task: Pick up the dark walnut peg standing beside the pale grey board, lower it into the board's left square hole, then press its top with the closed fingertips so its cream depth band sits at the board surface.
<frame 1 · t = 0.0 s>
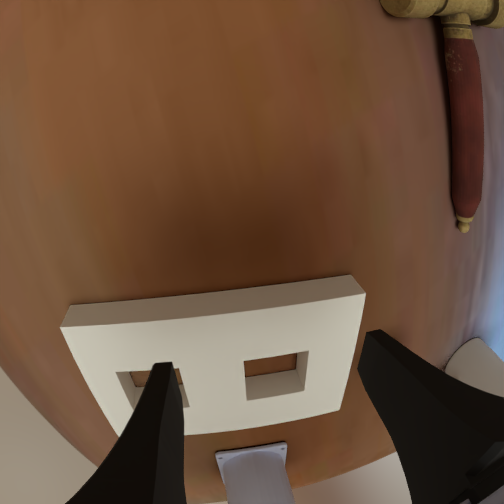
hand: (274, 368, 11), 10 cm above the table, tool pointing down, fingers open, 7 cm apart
board: (218, 361, 24), on the table
mug: (453, 361, 32), on the table
gavel: (448, 100, 18), on the table
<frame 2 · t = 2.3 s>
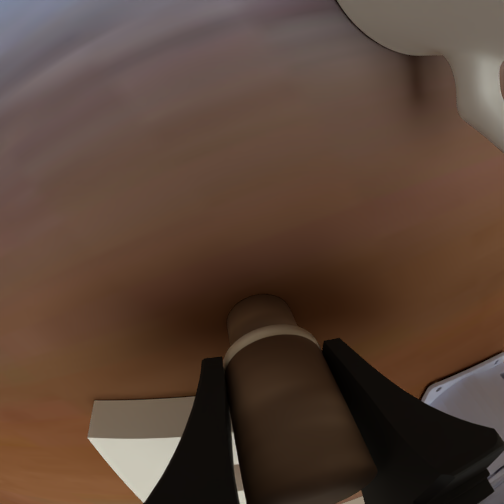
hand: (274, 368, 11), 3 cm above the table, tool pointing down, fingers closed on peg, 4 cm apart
peg: (259, 321, 14), on the table, touching gripper
board: (229, 471, 20), on the table
mug: (401, 22, 9), on the table
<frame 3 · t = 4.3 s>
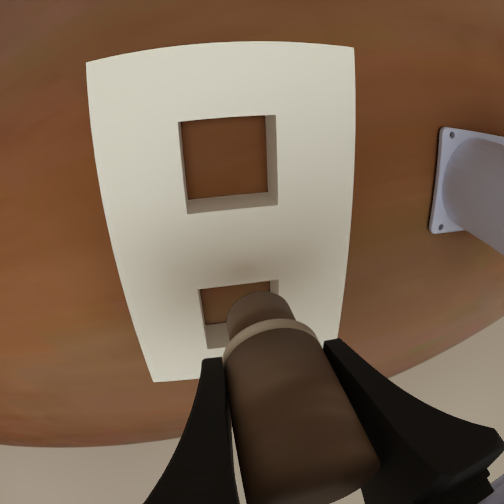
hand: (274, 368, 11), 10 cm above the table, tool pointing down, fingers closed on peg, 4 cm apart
peg: (259, 319, 14), point 7 cm above the table, touching gripper
board: (230, 223, 19), on the table
when the fingers open (4 cm above the table, at t = 6.2 s): peg stays where it is, resting in board.
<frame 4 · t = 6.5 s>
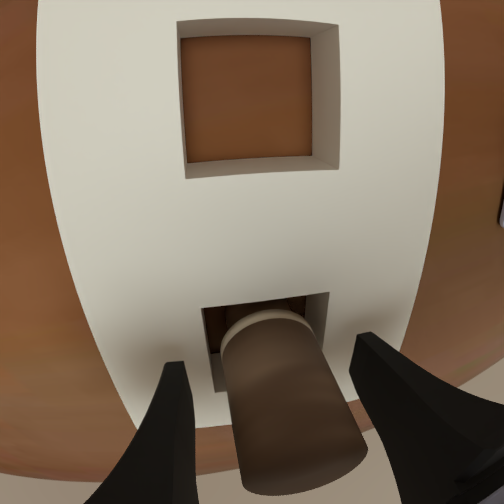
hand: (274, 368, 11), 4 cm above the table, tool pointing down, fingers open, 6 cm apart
peg: (256, 309, 14), resting in board
board: (252, 202, 12), on the table
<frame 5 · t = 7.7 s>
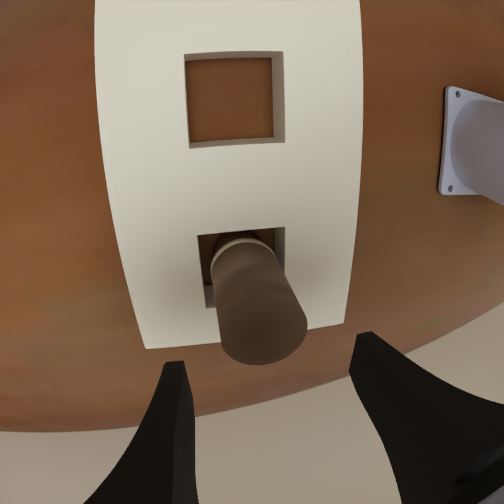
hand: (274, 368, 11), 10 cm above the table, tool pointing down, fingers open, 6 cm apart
peg: (237, 248, 20), resting in board
board: (233, 169, 18), on the table
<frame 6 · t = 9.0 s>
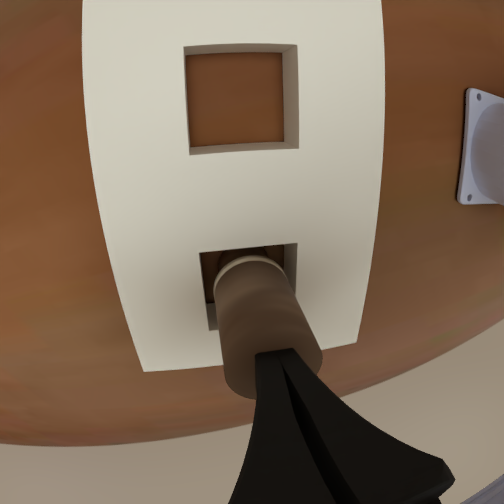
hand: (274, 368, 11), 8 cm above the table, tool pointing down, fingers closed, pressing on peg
peg: (243, 263, 18), resting in board, touching gripper
board: (239, 177, 16), on the table
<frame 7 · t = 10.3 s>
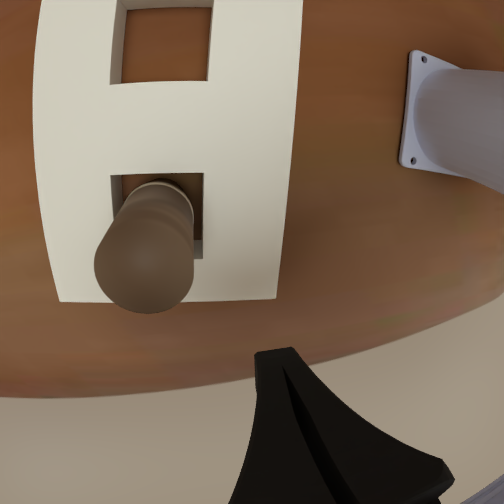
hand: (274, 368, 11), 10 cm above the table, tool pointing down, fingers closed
peg: (161, 202, 18), resting in board
board: (161, 115, 16), on the table
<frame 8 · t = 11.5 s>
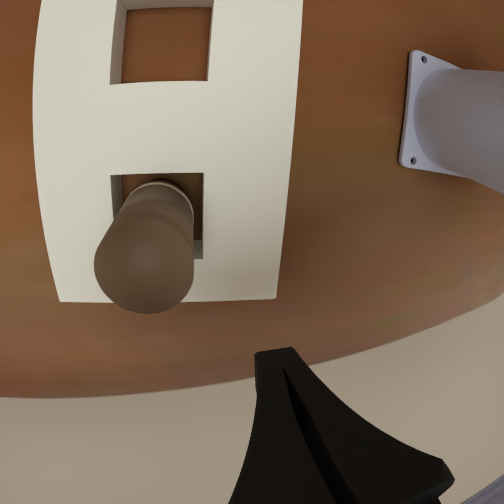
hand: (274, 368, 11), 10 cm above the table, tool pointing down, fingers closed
peg: (161, 202, 18), resting in board
board: (161, 115, 16), on the table
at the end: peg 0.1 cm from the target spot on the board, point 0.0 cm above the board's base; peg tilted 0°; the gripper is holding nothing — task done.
